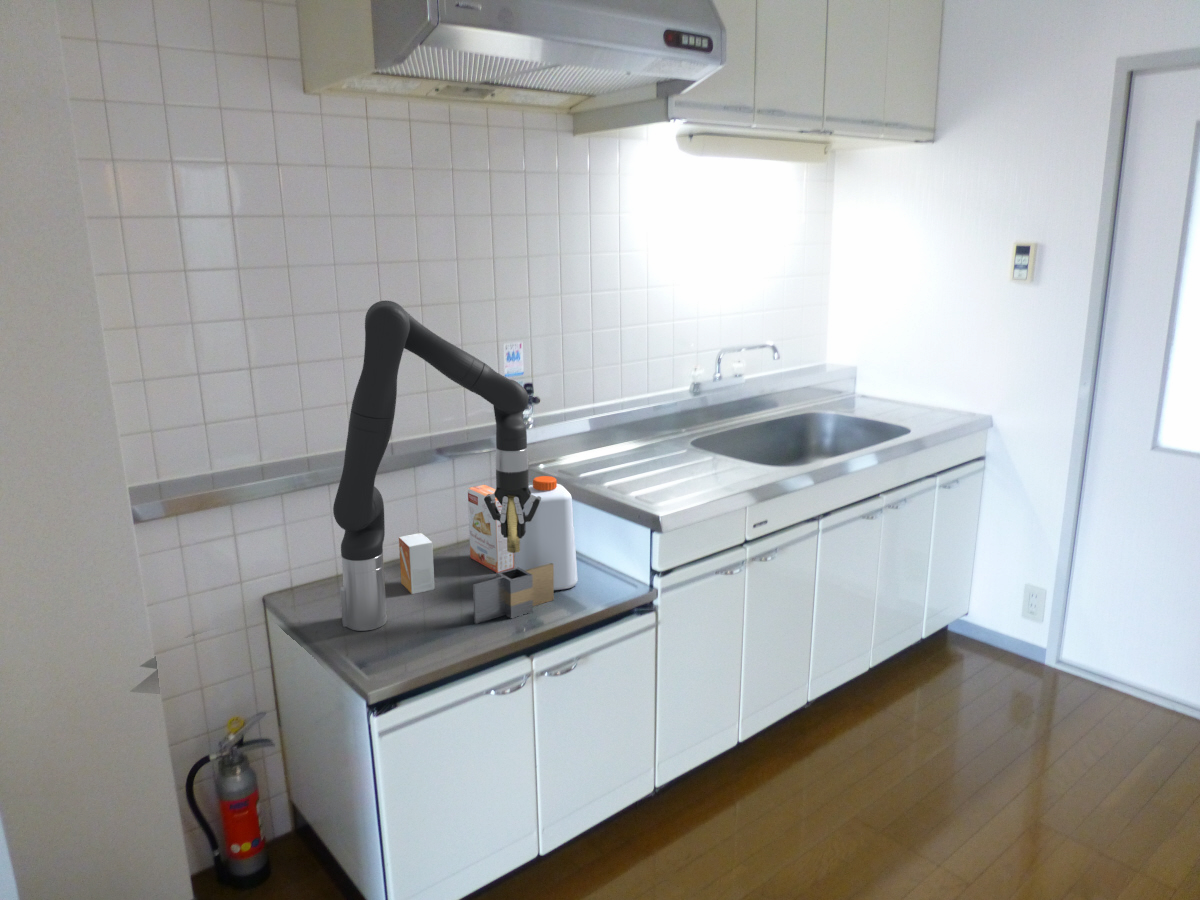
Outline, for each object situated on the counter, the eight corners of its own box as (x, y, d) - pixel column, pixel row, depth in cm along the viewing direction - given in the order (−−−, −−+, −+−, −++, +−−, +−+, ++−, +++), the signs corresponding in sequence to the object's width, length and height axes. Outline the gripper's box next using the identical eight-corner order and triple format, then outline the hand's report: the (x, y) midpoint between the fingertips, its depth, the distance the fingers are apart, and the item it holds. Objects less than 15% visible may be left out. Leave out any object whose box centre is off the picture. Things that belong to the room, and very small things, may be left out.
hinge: (481, 627, 201) (480, 589, 199) (468, 618, 206) (467, 580, 203) (560, 603, 214) (559, 567, 212) (545, 595, 219) (545, 559, 217)
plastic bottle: (581, 589, 223) (581, 484, 216) (524, 596, 219) (522, 489, 212) (565, 567, 237) (565, 468, 230) (511, 573, 233) (509, 473, 226)
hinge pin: (506, 552, 205) (504, 495, 201) (508, 547, 208) (507, 491, 204) (518, 553, 205) (517, 496, 201) (521, 548, 207) (520, 492, 204)
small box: (400, 583, 226) (398, 536, 222) (424, 579, 229) (421, 532, 226) (411, 594, 219) (408, 546, 216) (435, 589, 222) (433, 541, 219)
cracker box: (468, 559, 243) (466, 487, 238) (487, 554, 247) (485, 483, 241) (496, 574, 232) (494, 499, 227) (514, 568, 236) (513, 495, 231)
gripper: (478, 469, 198) (480, 541, 203) (538, 472, 197) (539, 544, 201) (486, 461, 206) (488, 530, 210) (544, 463, 204) (545, 533, 208)
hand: (513, 536), depth 205 cm, fingers closed on hinge pin, 3 cm apart
